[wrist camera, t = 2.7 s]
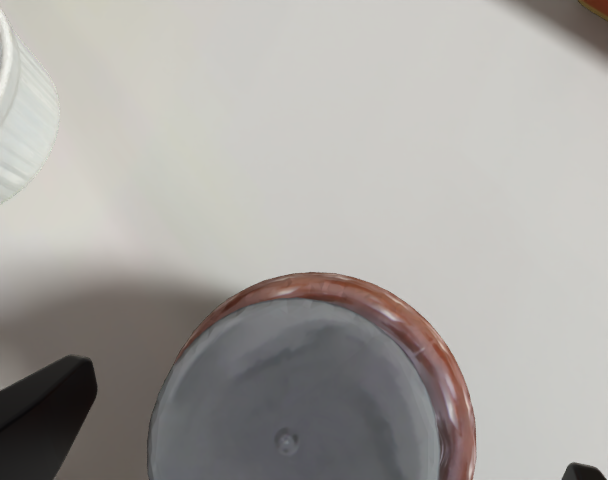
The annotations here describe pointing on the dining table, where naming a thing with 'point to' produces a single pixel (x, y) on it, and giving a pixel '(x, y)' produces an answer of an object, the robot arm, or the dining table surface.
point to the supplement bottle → (313, 390)
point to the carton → (596, 7)
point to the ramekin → (23, 113)
